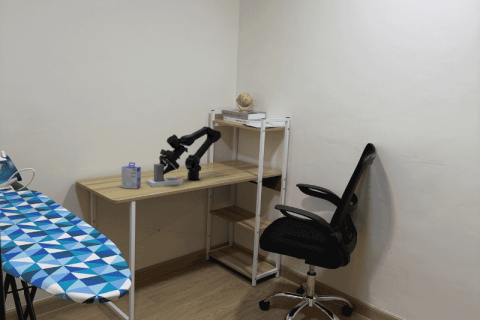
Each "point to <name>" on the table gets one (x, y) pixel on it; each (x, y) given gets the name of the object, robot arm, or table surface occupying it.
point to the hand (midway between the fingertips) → (159, 172)
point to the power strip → (165, 182)
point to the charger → (158, 172)
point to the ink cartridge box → (131, 176)
